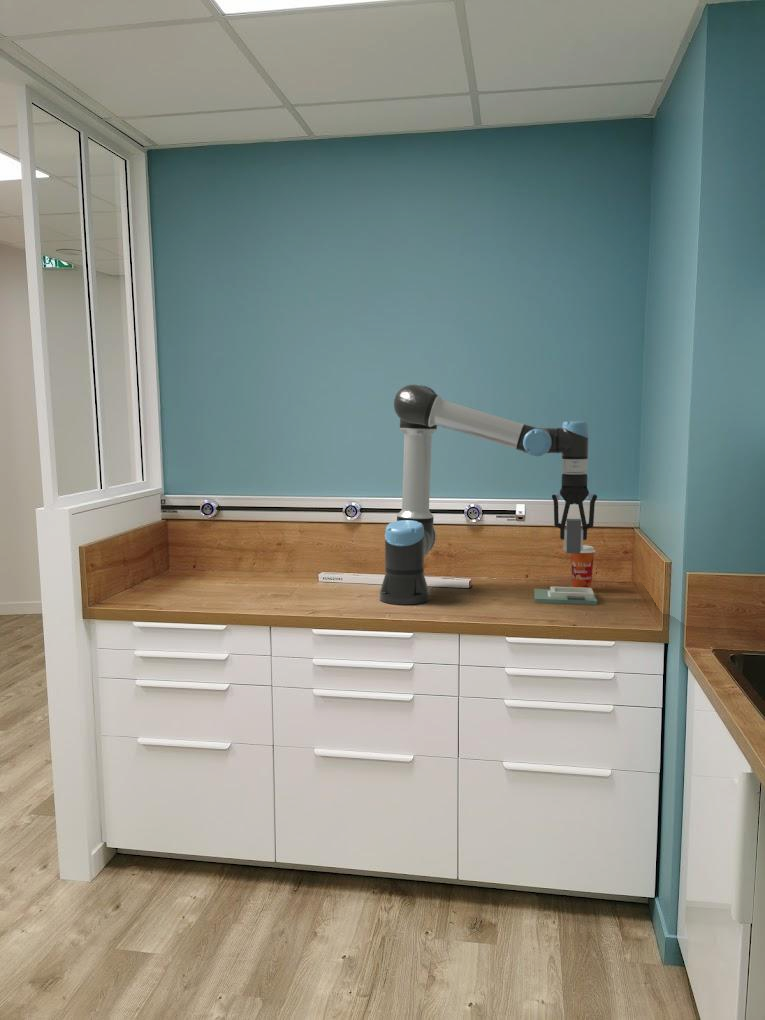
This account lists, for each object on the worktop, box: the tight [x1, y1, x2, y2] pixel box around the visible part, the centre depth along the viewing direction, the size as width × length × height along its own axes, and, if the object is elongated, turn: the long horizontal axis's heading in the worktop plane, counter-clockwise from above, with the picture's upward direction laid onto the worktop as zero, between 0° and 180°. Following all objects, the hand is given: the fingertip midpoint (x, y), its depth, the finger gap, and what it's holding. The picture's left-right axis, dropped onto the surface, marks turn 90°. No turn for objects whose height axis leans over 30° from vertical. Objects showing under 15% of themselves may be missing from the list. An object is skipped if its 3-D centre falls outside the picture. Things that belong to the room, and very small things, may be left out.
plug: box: [565, 518, 582, 555], centre depth 246 cm, size 4×5×10 cm
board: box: [533, 586, 598, 606], centre depth 248 cm, size 18×14×3 cm
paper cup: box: [570, 544, 597, 588], centre depth 259 cm, size 8×8×14 cm
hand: (573, 550), depth 246 cm, fingers closed on plug, 4 cm apart
